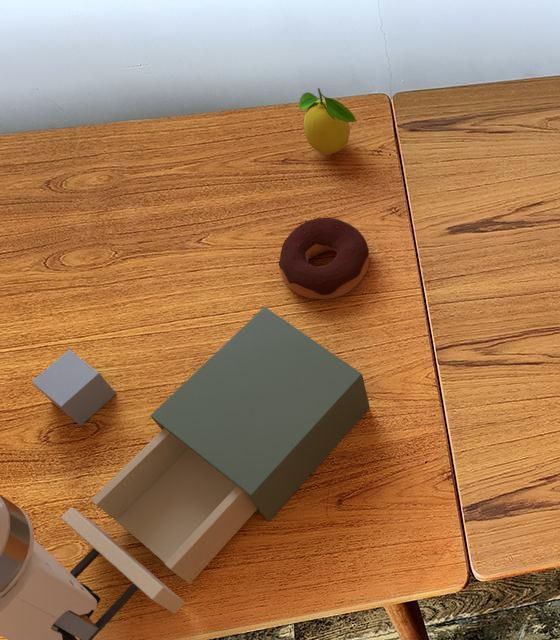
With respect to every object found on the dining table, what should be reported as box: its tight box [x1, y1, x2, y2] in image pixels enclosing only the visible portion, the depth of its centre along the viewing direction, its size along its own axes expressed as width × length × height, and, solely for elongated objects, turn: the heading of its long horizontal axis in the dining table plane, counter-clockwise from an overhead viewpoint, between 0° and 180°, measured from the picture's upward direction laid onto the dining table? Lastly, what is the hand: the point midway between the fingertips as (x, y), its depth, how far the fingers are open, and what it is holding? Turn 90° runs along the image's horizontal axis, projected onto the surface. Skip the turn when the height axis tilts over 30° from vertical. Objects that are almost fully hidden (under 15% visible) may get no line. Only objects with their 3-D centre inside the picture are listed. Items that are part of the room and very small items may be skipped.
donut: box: [278, 216, 370, 300], centre depth 85 cm, size 10×10×4 cm
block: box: [30, 349, 117, 426], centre depth 76 cm, size 4×4×4 cm
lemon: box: [297, 87, 358, 155], centre depth 92 cm, size 7×6×10 cm
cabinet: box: [150, 306, 371, 522], centre depth 73 cm, size 15×13×8 cm
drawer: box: [57, 428, 257, 640], centre depth 66 cm, size 21×11×6 cm, turn 144°
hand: (80, 609), depth 64 cm, fingers closed
